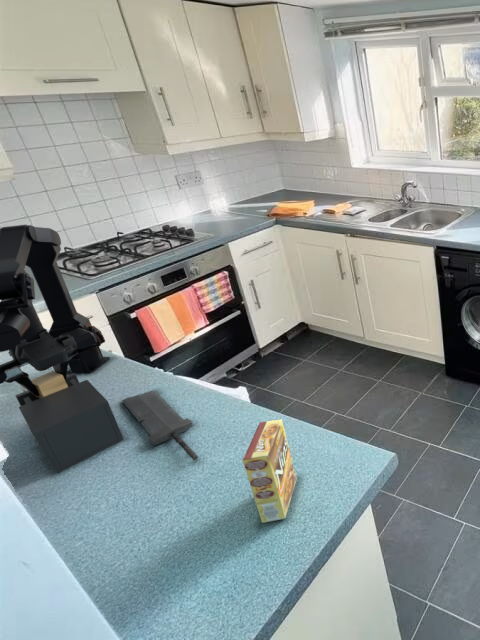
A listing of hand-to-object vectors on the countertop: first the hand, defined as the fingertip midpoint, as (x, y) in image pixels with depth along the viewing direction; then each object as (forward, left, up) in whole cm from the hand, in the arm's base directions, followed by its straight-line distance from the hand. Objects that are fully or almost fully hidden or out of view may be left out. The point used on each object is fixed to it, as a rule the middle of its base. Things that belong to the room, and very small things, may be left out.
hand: (50, 389), depth 93 cm
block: (0, 0, -1) cm, 1 cm away
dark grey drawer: (-1, -1, -9) cm, 9 cm away
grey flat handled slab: (+3, +22, -10) cm, 24 cm away
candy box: (+26, +55, -10) cm, 61 cm away
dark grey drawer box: (+6, +7, -10) cm, 14 cm away
